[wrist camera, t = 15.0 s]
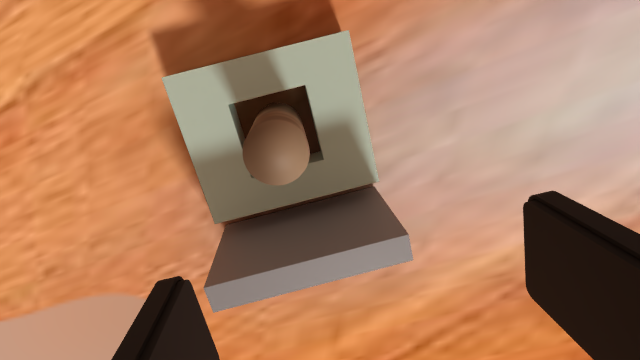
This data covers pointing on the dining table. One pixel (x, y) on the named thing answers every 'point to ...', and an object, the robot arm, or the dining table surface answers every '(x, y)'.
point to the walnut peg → (276, 145)
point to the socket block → (262, 79)
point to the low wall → (305, 248)
